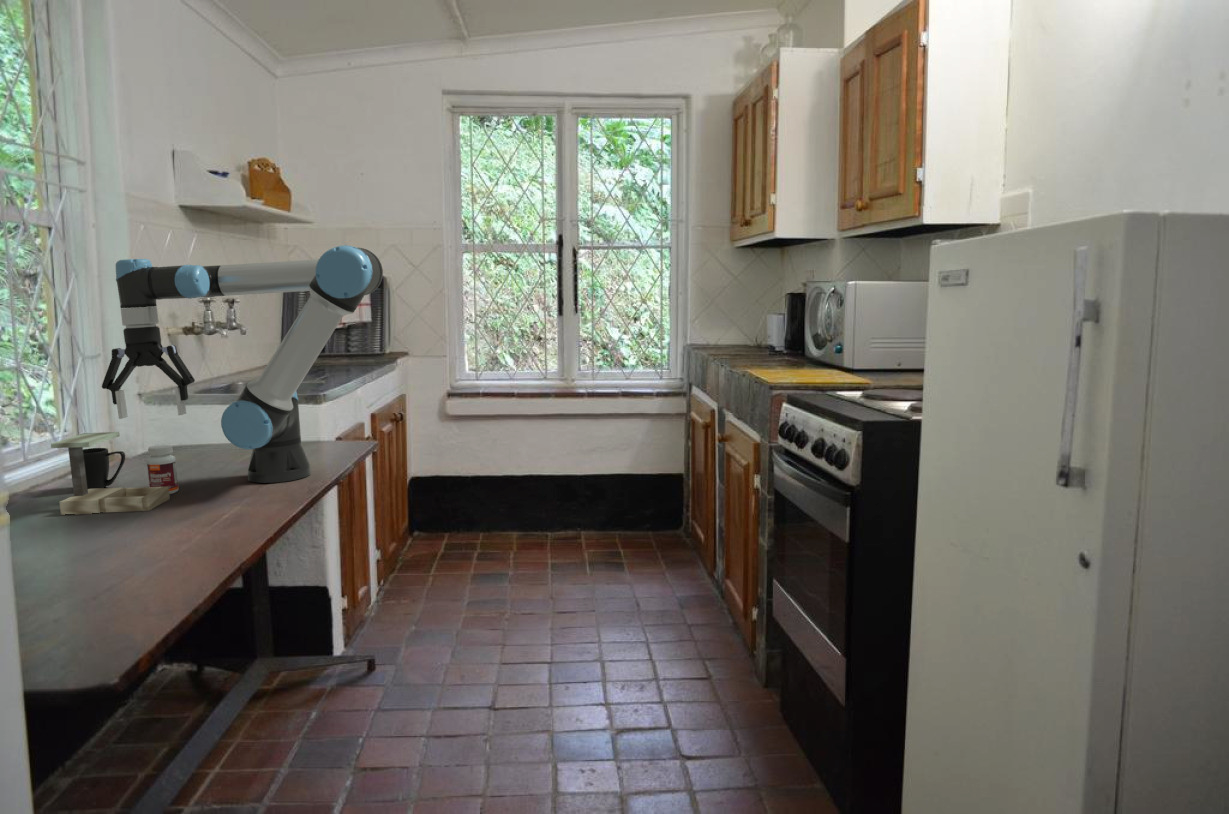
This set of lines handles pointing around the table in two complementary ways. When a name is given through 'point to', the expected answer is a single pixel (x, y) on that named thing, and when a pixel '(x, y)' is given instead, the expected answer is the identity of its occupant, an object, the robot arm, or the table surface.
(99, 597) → the table surface
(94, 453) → the mug
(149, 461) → the pill bottle
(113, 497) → the socket block
